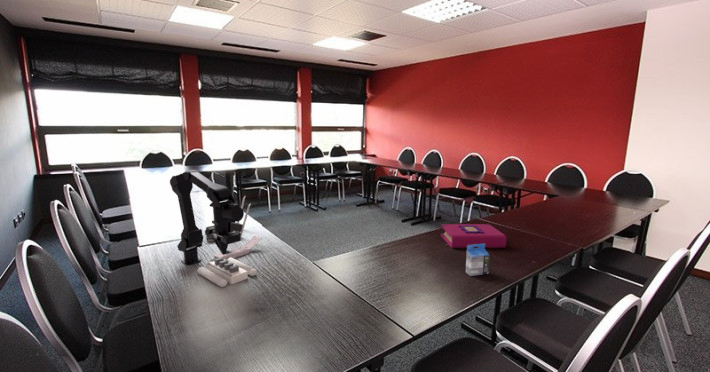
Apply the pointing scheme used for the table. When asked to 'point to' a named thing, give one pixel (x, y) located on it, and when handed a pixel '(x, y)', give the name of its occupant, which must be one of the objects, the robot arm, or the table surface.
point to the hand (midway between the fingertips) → (223, 254)
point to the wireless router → (235, 222)
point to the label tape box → (477, 260)
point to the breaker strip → (227, 270)
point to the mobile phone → (238, 250)
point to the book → (473, 235)
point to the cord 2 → (243, 266)
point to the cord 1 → (212, 276)
